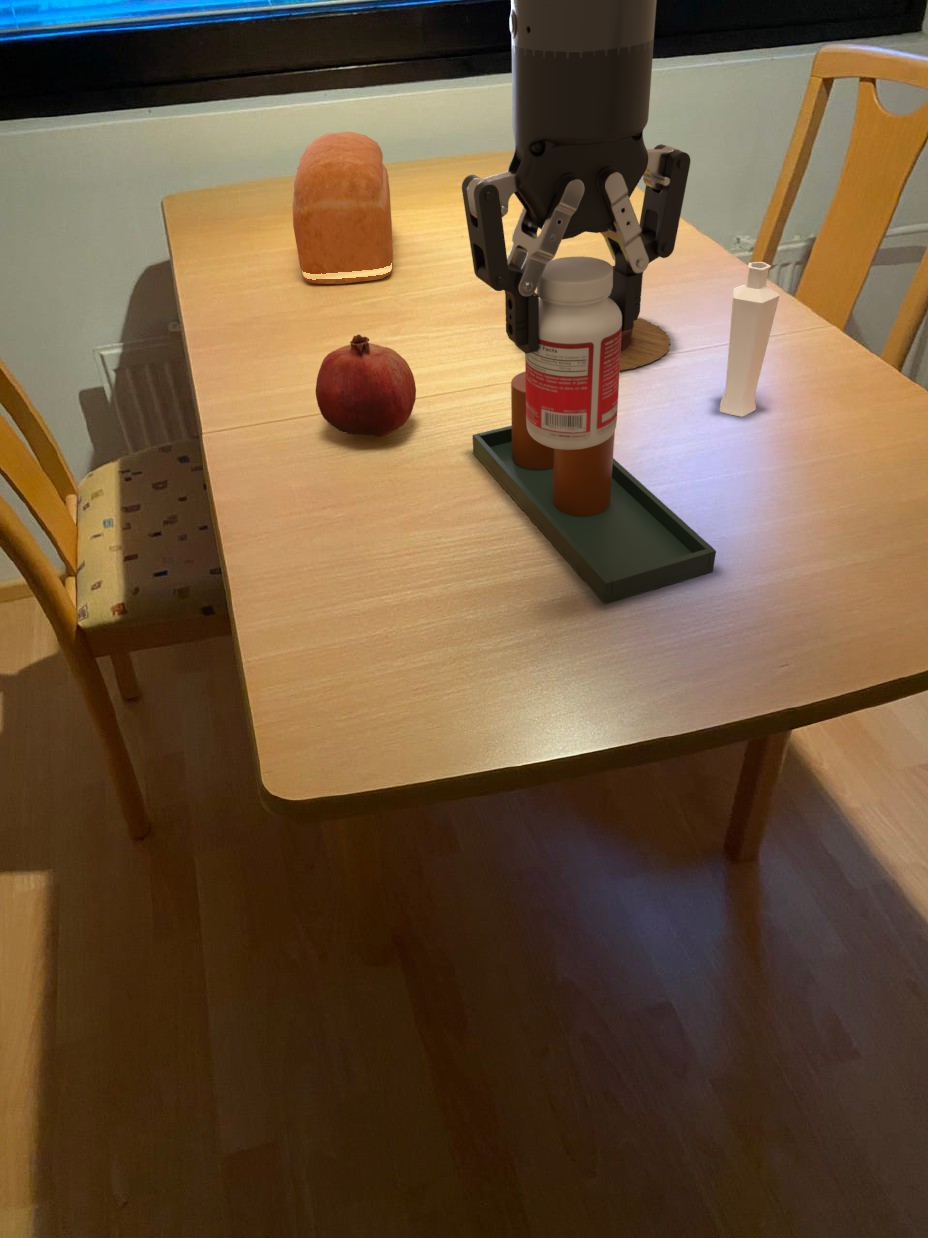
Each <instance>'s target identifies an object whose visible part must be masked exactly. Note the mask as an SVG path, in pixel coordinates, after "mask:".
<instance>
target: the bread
mask: <svg viewBox="0 0 928 1238" xmlns="http://www.w3.org/2000/svg"><path fill="white" fill-rule="evenodd" d="M383 161H384V155H383V152H382V148H381V146H380V145H379V143H378V142H377V141H376V140H374V139H372V138H371V137H369V136H368V135H366V134H361V133H358V132H354V131H343V132H330V133H325V134H323V135H321V136H318V137H317V138H315V139H314V140H313V141H312V142H310V144H309V145H307V147H306V148H305V150H304V152H303V154H302V155H301V157H300V159H299V164H298V166H297V168H296V172H295V173H296V174H295V178H294V182H293V198H292V225H293V226H292V227H293V232H294V238H295V245H296V251H297V257H298V262H299V267H300V271H301V270H302V271H303V272H306V273H310V274H321V273H322V274H326V273H338V272H352V271H362V270H373V269H379V268H384V267H386V266H390V265H391V263H392V260H393V261H394V248H393V249H392V244H393V245H394V243H393V241H394V240H393V223H392V222H393V221H392V207H391V206H392V205H391V191H390V190H391V189H390V181H389V180H390V179H389V173H388V169H387V167H386V166H385V164H384V162H383ZM302 271H301V272H302ZM391 273H392V271H391V272H388V273H386V274H383V275H376V276H368V277H356V278H342V279H316V280H312V279H307V278H305V277H304V276H303V275H302V277H303V278H304V279H305V281H306V282H308V283H312V284H320V285H323V284H326V285H337V284H339V285H341V284H351V283H359V282H360V283H361V282H368V281H369V282H370V281H375V280H376V281H377V280H383V279H385V278H386V277H388V276H389V275H390V274H391Z"/></svg>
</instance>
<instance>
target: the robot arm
mask: <svg viewBox="0 0 928 1238" xmlns="http://www.w3.org/2000/svg"><path fill="white" fill-rule="evenodd" d="M510 5H511V6H510V15H509V31H510V34H511V100H512V101H511V104H512V109H511V110H512V111H511V112H512V130H513V131H512V132H513V139H514V150H513V154H512V158H511V160H510V163H509V165H508V168H507V171H503V172H500V173H496V174H494V175H490V176H487V177H484V178H481V177H479V176H477V175H475V174H469V175H467V176H466V177H465V178H464V179H463V181H462V183H461V192H462V199H463V206H464V207H463V208H464V212H465V219H466V226H467V232H468V233H467V234H468V239H469V246H470V251H471V259H472V266H473V271H474V275H475V276H476V278H477V279H479V280H480V281H482V282H483V283H485V285H488V287H490V288H491V289H493V290H494V291H495V292H503V291H504V297H505V299H504V300H505V301H504V303H505V304H504V305H505V332H506V335H507V337H508V340H510V341H511V342H513V343H514V345H515V347H517V348H518V349H519V350H521V352H523V353H524V354H525V353H526V354H528V353H532V352H537V351H538V348H539V299H540V298H539V295H538V294H537V292H536V291H537V286H538V283H539V281H540V278H541V276H542V274H543V271H544V269H545V266H546V264H547V263H548V261H551V260H554V259H555V256H556V255H557V252H558V250H559V247H560V245H561V242H562V241H563V240H567V239H574V238H575V237H578V236H580V235H581V234H583V233H591V234H592V233H593V234H599V233H600V234H601V235H602V237H603V239H604V241H605V243H606V246H607V248H608V250H609V253H610V256H611V258H612V260H613V261H614V265H611V266H612V267H613V288H612V291H611V294H610V295H609V296H608V297H609V298H610V299H612V300H613V301H614V302H615V303H616V304H617V305H618V307H619V309H620V311H621V314H622V332H627V331H631V330H632V328H633V321H636V320H637V319H639V316H640V313H641V302H642V287H643V277H644V276H643V275H644V272H645V271H646V269H647V268H648V267H649V264H650V263H652V262H653V261H655V260H656V259H658V258H662V259H666V258H669V257H671V255H672V254H673V253H674V250H675V245H676V240H677V236H678V230H679V225H680V219H681V214H682V208H683V204H684V198H685V194H686V193H685V192H686V188H687V183H688V177H689V172H690V168H691V167H690V166H691V156H690V155H689V154H688V153H687V152H685V151H683V150H681V149H678V148H676V147H673V146H669V145H665V144H657V145H655V147H654V148H647V147H646V145H645V141H644V129H645V128H646V127H647V125H648V122H649V116H650V115H649V114H650V99H651V88H652V87H651V86H652V72H653V71H652V70H653V60H654V59H653V57H654V42H655V27H656V17H657V16H656V13H657V0H510ZM641 180H642V181H643V183H644V185H645V188H644V193H643V200H642V207H641V212H640V219H638V218H637V215H636V212H635V209H634V207H633V204H632V202H631V199H630V198H631V196H632V195H633V194H634V191H635V189H636V188H637V186H638V184H639V183H640V181H641ZM512 195H515V196H516V198H517V200H518V201H519V203H520V204H521V205H522V210H521V212H520V214H519V217H518V220H517V222H516V224H515V227H514V230H513V231H512V235H511V241H512V245H511V249H510V251H509V253H508V255H507V247H506V240H505V239H506V238H505V231H504V230H505V229H504V223H503V217H505V216H506V215H507V214H508V212H509V202H510V199H511V197H512ZM539 229H540V233H539V234H538V230H539Z"/></svg>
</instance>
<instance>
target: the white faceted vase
mask: <svg viewBox="0 0 928 1238" xmlns="http://www.w3.org/2000/svg"><path fill="white" fill-rule="evenodd" d="M747 267H748V273H747V281H746V283H743V284H742V285H741V284H740V285H739V286H736V287H734V288H733V292H732V303H731V314H730V315H731V317H730V328H729V339H728V340H729V341H728V353H727V364H726V376H725V377H726V379H725V389H724V393H723V395H722V398H721V401H720V404H719V412H720V413H722V414H727V415H732V416H736V417H740V418H741V417H742V418H743V417H746V416H747V415H749V414H751V413H753V412H754V411H756V410H757V406H756V405H757V404H756V403H757V402H756V392H757V388H758V383H759V379H760V376H761V372H762V368H763V365H764V364H763V363H764V360H765V357H766V352H767V348H768V344H769V340H770V336H771V332H772V328H773V325H774V320H775V316H776V312H777V309H778V304H779V301H780V296H781V294H779V293H778V292H777V291H775V290H774V289H772V288H770V287H769V286H767V283H768V276H769V270H770V269H771V267H772V265H771V264H769V263H766V262H764V261H753V262H752V261H751V262H748V265H747Z"/></svg>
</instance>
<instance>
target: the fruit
mask: <svg viewBox="0 0 928 1238" xmlns="http://www.w3.org/2000/svg"><path fill="white" fill-rule="evenodd" d="M315 397H316V403H317V406H318V410H319V412H320V414H321V416H322V417H323V419H324V420H325V421H326V422H327V423H328V424H329V425H330V426H331V427H333V428H334V429H335V430H338V431H339V432H341V433H345V434H348V435H353V436H363V437H364V436H365V437H374V438H375V437H376V438H379V437H384V436H386V435H389V434H391V433H393V432H395V431H397V430H399V429H401V428H402V427H403V426H404V424H405V423H406V422H407V421H408V420H409V419H410V417H411V415H412V412H413V409H414V406H415V404H416V400H417V399H416V398H417V386H416V381H415V377H414V373H413V372H412V369H411V368H410V365H409V364H408V362H407V360H406V359H405V358H404V357H402V356H401V354H399V352H397V351H396V350H394V349H392V348H390V347H387V346H383V345H380V344H375V343H372V342H370V338H369V337H368V336H363V335H361V334H357V335H353V337H352V339H351V340H350V342H349V344H347V345H344V346H341V347H339V348H337V349H334V350H332V351H330V352H329V353H327V355H326V356H325V357H324V358H323V360H322V362H321V364H320V367H319V369H318V373H317V377H316V383H315Z"/></svg>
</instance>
